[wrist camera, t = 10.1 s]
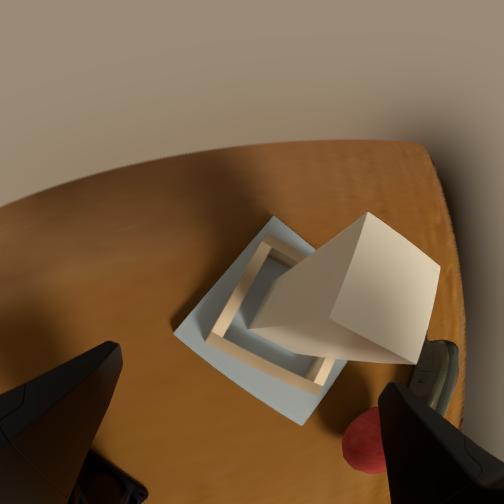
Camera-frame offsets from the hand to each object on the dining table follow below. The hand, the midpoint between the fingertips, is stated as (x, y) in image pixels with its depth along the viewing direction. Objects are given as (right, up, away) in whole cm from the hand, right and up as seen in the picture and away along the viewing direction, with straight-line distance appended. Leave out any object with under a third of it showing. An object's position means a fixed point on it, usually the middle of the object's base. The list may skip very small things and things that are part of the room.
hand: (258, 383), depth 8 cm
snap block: (+2, -1, +12) cm, 12 cm away
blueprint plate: (+2, -1, +13) cm, 13 cm away
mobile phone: (+16, -11, +13) cm, 23 cm away
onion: (+9, -12, +12) cm, 19 cm away
